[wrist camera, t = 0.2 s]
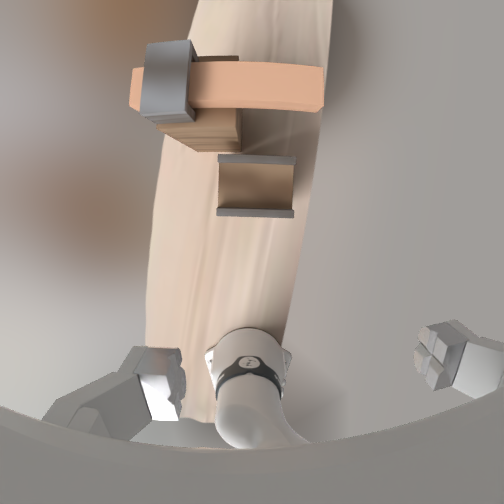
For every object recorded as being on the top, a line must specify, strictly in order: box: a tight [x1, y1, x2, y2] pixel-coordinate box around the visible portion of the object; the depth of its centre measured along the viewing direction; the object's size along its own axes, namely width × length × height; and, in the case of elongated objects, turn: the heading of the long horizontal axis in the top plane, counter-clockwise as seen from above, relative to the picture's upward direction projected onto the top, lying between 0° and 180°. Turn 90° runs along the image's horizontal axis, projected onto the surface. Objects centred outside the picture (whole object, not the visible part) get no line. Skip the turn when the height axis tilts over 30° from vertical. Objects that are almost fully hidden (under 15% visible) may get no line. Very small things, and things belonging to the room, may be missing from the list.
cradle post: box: [217, 154, 296, 218], centre depth 46 cm, size 8×10×17 cm
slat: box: [129, 61, 324, 113], centre depth 25 cm, size 4×18×3 cm, turn 88°
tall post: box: [139, 40, 242, 152], centre depth 36 cm, size 8×8×31 cm
